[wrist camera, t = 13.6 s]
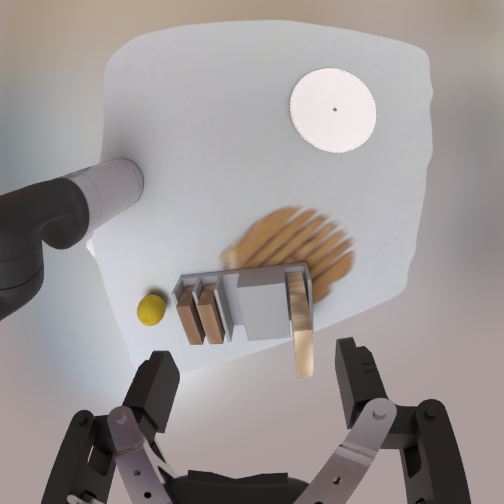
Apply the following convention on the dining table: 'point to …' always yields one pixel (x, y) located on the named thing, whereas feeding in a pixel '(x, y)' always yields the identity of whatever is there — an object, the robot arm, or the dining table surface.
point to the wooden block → (301, 325)
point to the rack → (251, 298)
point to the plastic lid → (324, 117)
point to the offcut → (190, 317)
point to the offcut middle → (211, 315)
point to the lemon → (151, 310)
